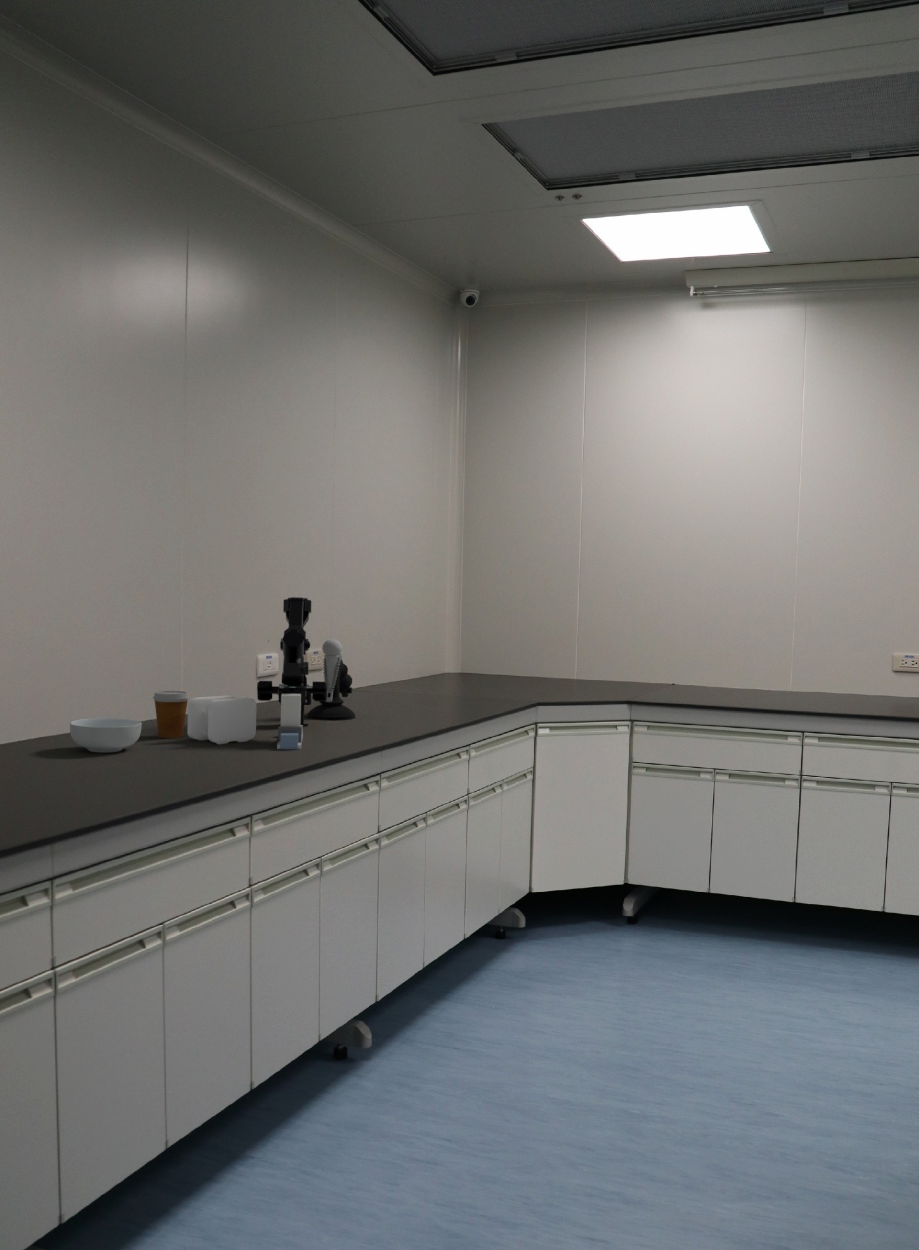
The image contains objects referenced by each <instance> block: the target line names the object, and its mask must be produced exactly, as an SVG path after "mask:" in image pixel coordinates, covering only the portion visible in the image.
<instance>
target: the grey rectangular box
mask: <svg viewBox="0 0 919 1250" xmlns="http://www.w3.org/2000/svg"><path fill="white" fill-rule="evenodd" d="M300 718H301V694H282V695H281V705H280V723H281V724H280V726H300Z"/></svg>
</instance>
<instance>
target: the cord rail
mask: <svg viewBox="0 0 919 1250" xmlns="http://www.w3.org/2000/svg"><path fill="white" fill-rule="evenodd" d="M303 727H304V726H303V725H300V726H281V725H280V726H279V725H278V727H277V728H278V731H277V733H278V734H277V744H276V749H277V750H301V749H302V744H303V738H304V732H303V731H304V730H303Z"/></svg>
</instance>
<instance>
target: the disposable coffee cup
mask: <svg viewBox="0 0 919 1250" xmlns="http://www.w3.org/2000/svg"><path fill="white" fill-rule="evenodd" d="M152 699H153V702H154V706H155V716H156V724H157V733H158V738H160V739H161V738H162V739H178V738H182V737H183V735H184V729H185V728H184V727H185V722H186V721H185V720H186V714H187V709H188V703H189V699H190V696H189V693H188V691H183V690H182V691H181V690H162V691H160V690H159V691H155V692H154V696H152Z"/></svg>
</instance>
